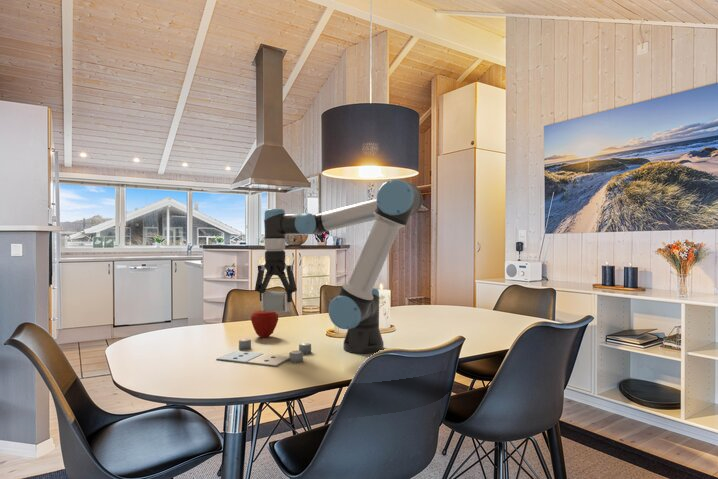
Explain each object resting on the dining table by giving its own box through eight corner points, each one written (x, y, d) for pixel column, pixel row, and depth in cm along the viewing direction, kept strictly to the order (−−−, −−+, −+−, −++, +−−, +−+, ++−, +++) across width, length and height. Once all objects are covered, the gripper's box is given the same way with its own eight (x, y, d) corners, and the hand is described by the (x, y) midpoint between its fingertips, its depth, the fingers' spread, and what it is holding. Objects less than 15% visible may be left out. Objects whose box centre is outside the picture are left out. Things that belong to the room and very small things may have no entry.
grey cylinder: (285, 312, 163) (285, 291, 163) (263, 312, 163) (263, 291, 163) (290, 308, 173) (290, 288, 173) (269, 308, 173) (269, 289, 174)
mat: (292, 357, 154) (292, 356, 154) (276, 366, 143) (276, 365, 143) (236, 351, 162) (236, 350, 162) (216, 360, 151) (216, 358, 151)
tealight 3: (313, 352, 162) (313, 343, 162) (307, 355, 158) (307, 345, 158) (302, 351, 164) (302, 342, 164) (296, 353, 160) (296, 344, 160)
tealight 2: (304, 360, 151) (304, 350, 151) (298, 364, 147) (299, 354, 147) (293, 359, 153) (293, 349, 153) (287, 362, 148) (287, 352, 148)
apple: (283, 336, 187) (283, 307, 187) (265, 341, 178) (265, 311, 178) (264, 333, 193) (264, 305, 193) (245, 337, 184) (245, 308, 184)
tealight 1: (253, 347, 168) (253, 339, 168) (246, 350, 164) (246, 341, 164) (243, 346, 170) (243, 338, 170) (236, 349, 165) (236, 340, 165)
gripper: (305, 249, 166) (306, 310, 166) (255, 250, 173) (256, 308, 173) (296, 250, 159) (297, 313, 159) (244, 250, 166) (245, 311, 166)
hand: (275, 310), depth 166 cm, fingers closed on grey cylinder, 9 cm apart
